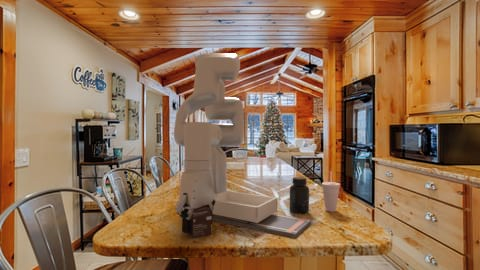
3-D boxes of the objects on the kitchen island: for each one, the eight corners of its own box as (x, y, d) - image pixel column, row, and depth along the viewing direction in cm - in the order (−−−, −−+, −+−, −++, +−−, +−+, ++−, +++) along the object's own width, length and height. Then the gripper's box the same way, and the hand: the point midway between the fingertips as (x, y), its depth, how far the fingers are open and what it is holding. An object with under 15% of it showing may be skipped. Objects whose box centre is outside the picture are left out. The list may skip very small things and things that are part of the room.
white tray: (203, 214, 92) (203, 198, 92) (227, 204, 104) (227, 190, 104) (257, 225, 82) (257, 207, 81) (277, 213, 93) (277, 197, 93)
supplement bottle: (309, 215, 96) (309, 180, 96) (289, 213, 97) (289, 179, 97) (308, 209, 103) (308, 176, 102) (289, 208, 104) (289, 176, 104)
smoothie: (340, 208, 104) (341, 171, 103) (339, 213, 98) (339, 173, 97) (322, 206, 106) (323, 169, 106) (320, 211, 100) (320, 172, 100)
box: (190, 238, 75) (190, 211, 75) (183, 231, 80) (183, 206, 80) (212, 234, 78) (212, 208, 78) (203, 228, 83) (203, 203, 83)
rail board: (199, 217, 93) (199, 214, 93) (224, 207, 105) (224, 204, 105) (295, 237, 76) (295, 233, 76) (311, 223, 87) (311, 219, 87)
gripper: (206, 162, 88) (206, 218, 88) (164, 168, 73) (164, 235, 73) (226, 164, 84) (226, 222, 84) (186, 170, 69) (186, 241, 69)
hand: (197, 228), depth 79 cm, fingers closed on box, 8 cm apart
